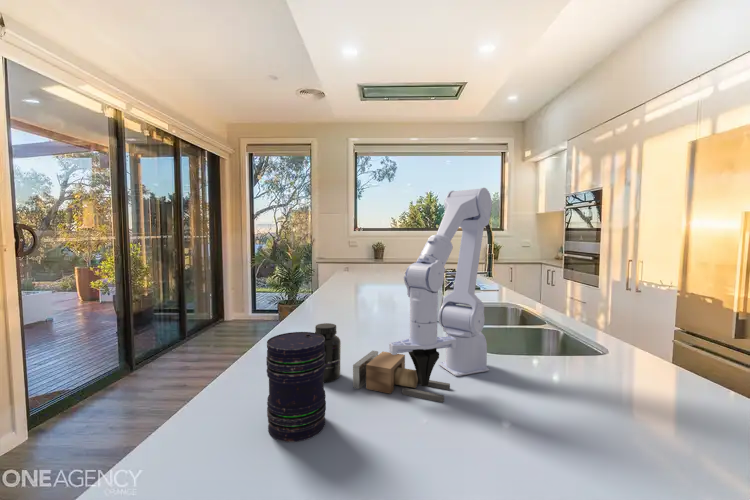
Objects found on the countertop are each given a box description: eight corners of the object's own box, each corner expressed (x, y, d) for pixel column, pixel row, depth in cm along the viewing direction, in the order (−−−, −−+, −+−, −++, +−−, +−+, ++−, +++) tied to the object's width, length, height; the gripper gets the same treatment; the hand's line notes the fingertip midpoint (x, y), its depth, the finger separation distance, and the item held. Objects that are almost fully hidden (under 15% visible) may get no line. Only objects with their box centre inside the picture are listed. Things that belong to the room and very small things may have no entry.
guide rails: (449, 388, 73) (449, 383, 73) (442, 402, 66) (442, 397, 66) (412, 381, 76) (412, 376, 76) (402, 394, 70) (402, 389, 70)
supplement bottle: (335, 384, 75) (335, 330, 74) (306, 381, 76) (305, 328, 75) (344, 372, 81) (344, 322, 81) (317, 369, 83) (316, 321, 82)
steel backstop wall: (378, 371, 81) (378, 351, 81) (359, 389, 72) (359, 366, 72) (372, 370, 82) (372, 350, 82) (353, 387, 73) (352, 365, 73)
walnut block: (404, 377, 78) (404, 354, 78) (390, 393, 70) (390, 368, 70) (382, 373, 80) (382, 351, 80) (366, 388, 72) (366, 364, 72)
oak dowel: (417, 387, 74) (418, 370, 75) (412, 388, 71) (414, 370, 72) (387, 382, 77) (389, 365, 78) (381, 382, 74) (384, 365, 75)
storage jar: (297, 450, 52) (296, 353, 51) (254, 430, 57) (253, 342, 56) (337, 420, 60) (337, 337, 60) (297, 405, 65) (296, 328, 65)
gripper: (445, 313, 77) (444, 372, 78) (384, 318, 73) (384, 380, 73) (461, 321, 70) (461, 385, 71) (396, 326, 66) (396, 395, 66)
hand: (423, 384), depth 72 cm, fingers closed
